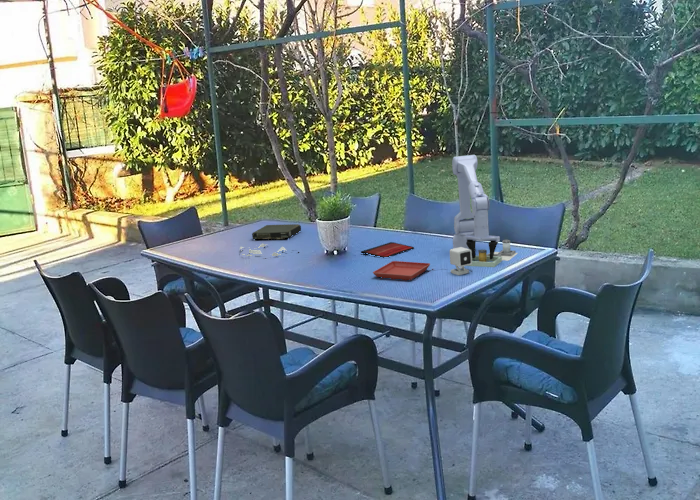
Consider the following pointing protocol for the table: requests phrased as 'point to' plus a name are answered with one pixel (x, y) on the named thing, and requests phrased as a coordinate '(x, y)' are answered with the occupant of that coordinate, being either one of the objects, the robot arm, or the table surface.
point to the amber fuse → (482, 255)
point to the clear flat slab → (260, 251)
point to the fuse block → (504, 255)
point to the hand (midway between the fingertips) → (482, 258)
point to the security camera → (460, 260)
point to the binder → (387, 249)
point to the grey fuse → (506, 246)
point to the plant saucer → (401, 270)
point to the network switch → (276, 231)
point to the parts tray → (495, 262)
